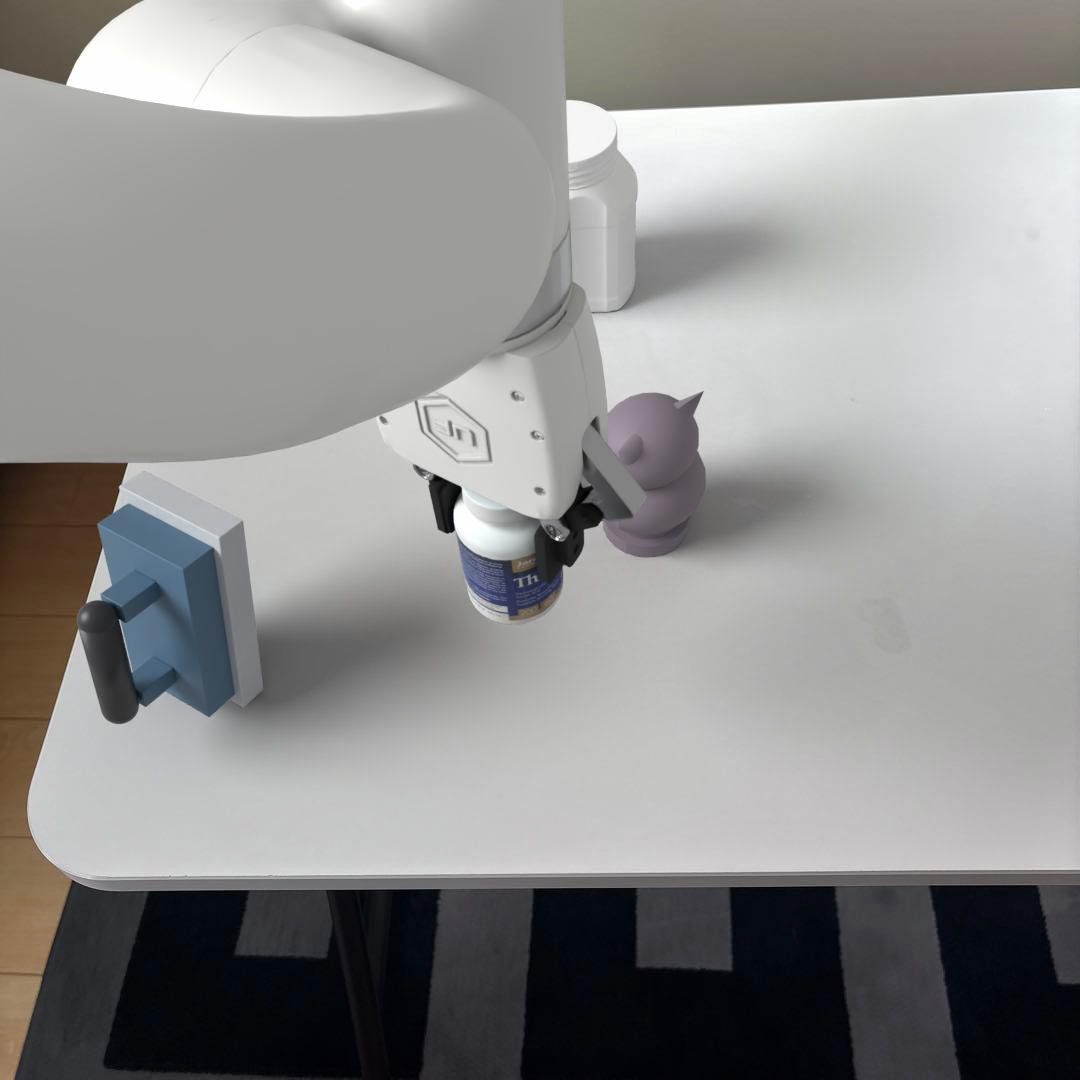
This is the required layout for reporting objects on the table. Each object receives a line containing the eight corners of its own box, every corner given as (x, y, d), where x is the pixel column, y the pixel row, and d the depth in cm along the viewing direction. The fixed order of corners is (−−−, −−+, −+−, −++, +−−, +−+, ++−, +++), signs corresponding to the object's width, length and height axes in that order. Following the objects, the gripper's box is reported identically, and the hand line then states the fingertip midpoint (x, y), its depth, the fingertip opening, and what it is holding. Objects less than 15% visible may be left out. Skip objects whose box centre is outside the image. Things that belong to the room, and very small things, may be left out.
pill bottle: (530, 644, 57) (518, 538, 49) (448, 601, 59) (424, 492, 51) (582, 571, 59) (578, 460, 51) (502, 532, 61) (487, 418, 53)
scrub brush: (143, 469, 65) (16, 550, 59) (243, 520, 62) (121, 610, 56) (176, 639, 75) (70, 724, 68) (264, 689, 72) (162, 782, 66)
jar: (619, 235, 97) (620, 83, 85) (647, 305, 92) (653, 153, 79) (496, 258, 96) (479, 108, 84) (516, 330, 91) (502, 180, 79)
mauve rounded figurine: (648, 459, 82) (653, 346, 72) (725, 518, 78) (740, 407, 69) (567, 522, 79) (560, 413, 69) (643, 586, 75) (647, 481, 66)
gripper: (238, 248, 42) (335, 522, 56) (622, 405, 36) (618, 665, 51) (354, 145, 45) (417, 429, 60) (721, 273, 39) (690, 552, 54)
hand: (509, 534), depth 55 cm, fingers closed on pill bottle, 5 cm apart
